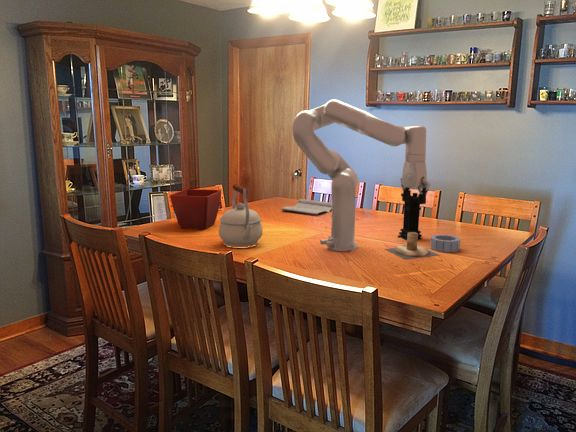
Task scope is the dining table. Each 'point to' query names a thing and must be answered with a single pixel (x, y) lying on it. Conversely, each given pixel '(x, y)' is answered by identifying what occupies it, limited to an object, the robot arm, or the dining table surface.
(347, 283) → the dining table surface
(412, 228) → the chess piece
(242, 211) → the kettle
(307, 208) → the mat
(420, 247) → the lid
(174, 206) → the plant pot
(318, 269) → the dining table surface
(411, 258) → the rubber mat
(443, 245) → the bowl
